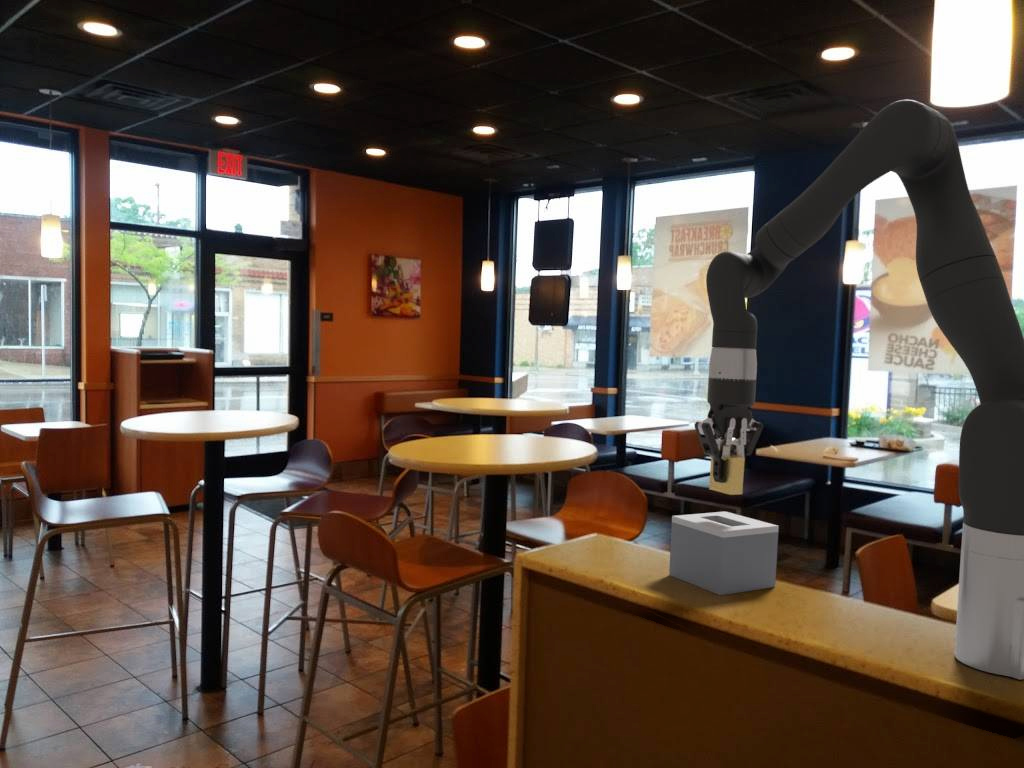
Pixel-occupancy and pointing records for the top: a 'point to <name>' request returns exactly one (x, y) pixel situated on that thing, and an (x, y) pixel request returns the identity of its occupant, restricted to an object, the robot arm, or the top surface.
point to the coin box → (723, 552)
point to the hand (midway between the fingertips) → (726, 481)
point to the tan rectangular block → (730, 476)
